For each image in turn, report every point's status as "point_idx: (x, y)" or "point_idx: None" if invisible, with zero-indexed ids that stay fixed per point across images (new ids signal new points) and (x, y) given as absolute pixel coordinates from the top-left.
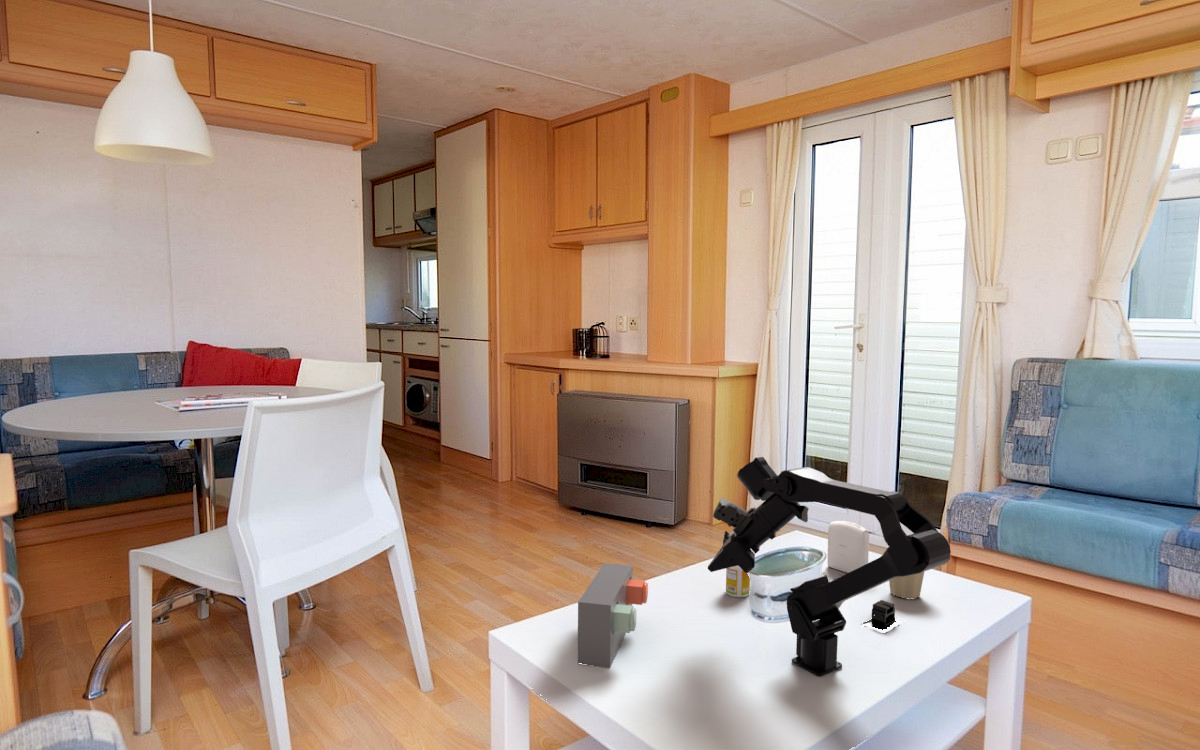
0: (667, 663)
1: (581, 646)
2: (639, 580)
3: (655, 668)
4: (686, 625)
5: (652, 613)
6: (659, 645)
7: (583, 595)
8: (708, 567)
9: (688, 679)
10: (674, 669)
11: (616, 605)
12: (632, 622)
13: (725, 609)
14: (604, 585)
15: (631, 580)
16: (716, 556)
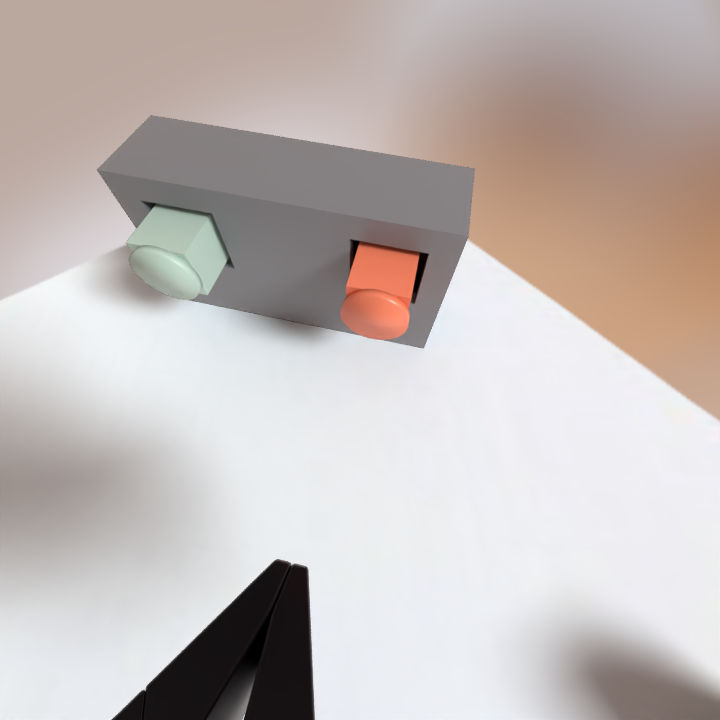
0: (178, 414)
1: None
2: (410, 281)
3: (160, 384)
4: (405, 491)
5: (473, 399)
6: (278, 403)
7: (195, 124)
8: (270, 566)
9: (82, 458)
10: (143, 428)
11: (197, 216)
12: (132, 268)
13: (569, 676)
14: (267, 162)
15: (408, 260)
16: (195, 685)
